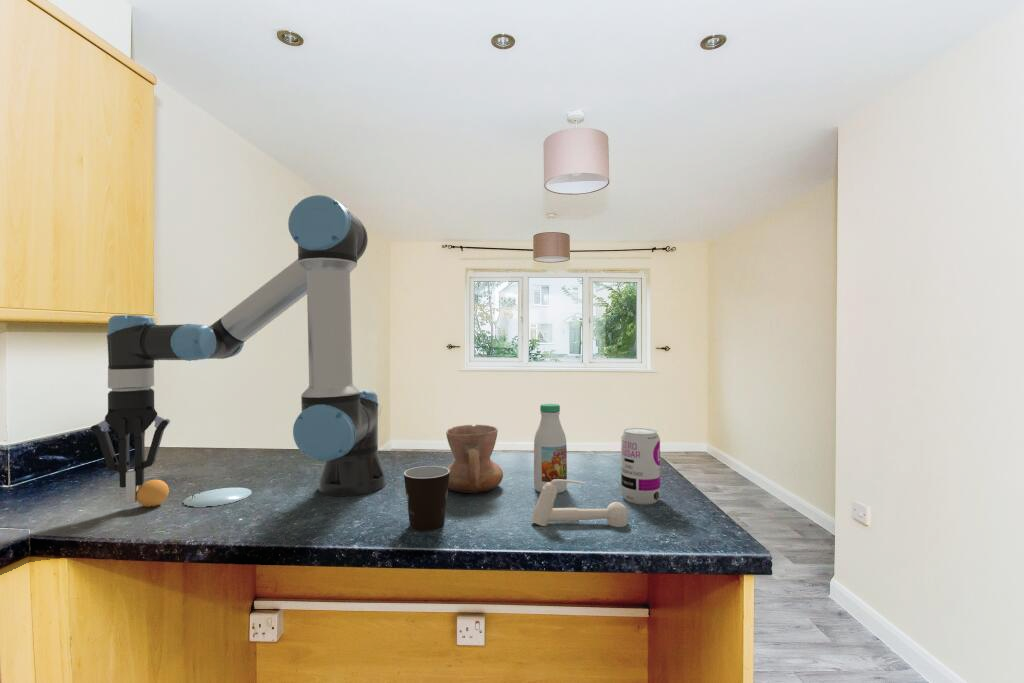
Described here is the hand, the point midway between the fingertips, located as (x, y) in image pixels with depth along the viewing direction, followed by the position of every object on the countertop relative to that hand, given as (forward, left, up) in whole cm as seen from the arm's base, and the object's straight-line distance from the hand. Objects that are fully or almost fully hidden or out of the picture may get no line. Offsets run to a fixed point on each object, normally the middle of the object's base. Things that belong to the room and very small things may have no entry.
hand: (132, 501), depth 97 cm
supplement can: (-98, +45, -2) cm, 108 cm away
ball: (-3, 0, +1) cm, 4 cm away
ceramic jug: (-68, +21, -2) cm, 71 cm away
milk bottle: (-84, +30, -2) cm, 89 cm away
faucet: (-78, +50, -2) cm, 93 cm away
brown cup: (-53, +36, -2) cm, 64 cm away
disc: (-15, 0, -2) cm, 15 cm away
